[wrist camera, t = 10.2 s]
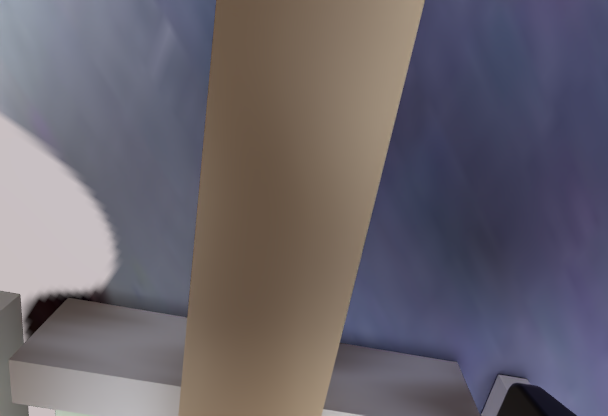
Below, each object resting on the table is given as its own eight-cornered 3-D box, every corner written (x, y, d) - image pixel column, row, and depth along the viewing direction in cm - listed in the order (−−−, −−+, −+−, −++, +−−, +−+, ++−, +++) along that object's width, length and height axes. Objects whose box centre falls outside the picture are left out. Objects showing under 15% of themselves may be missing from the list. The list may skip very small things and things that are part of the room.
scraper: (572, 48, 11) (756, 56, 6) (443, 393, 15) (499, 549, 11) (60, -49, 11) (-139, -117, 6) (69, 334, 15) (-45, 469, 10)
